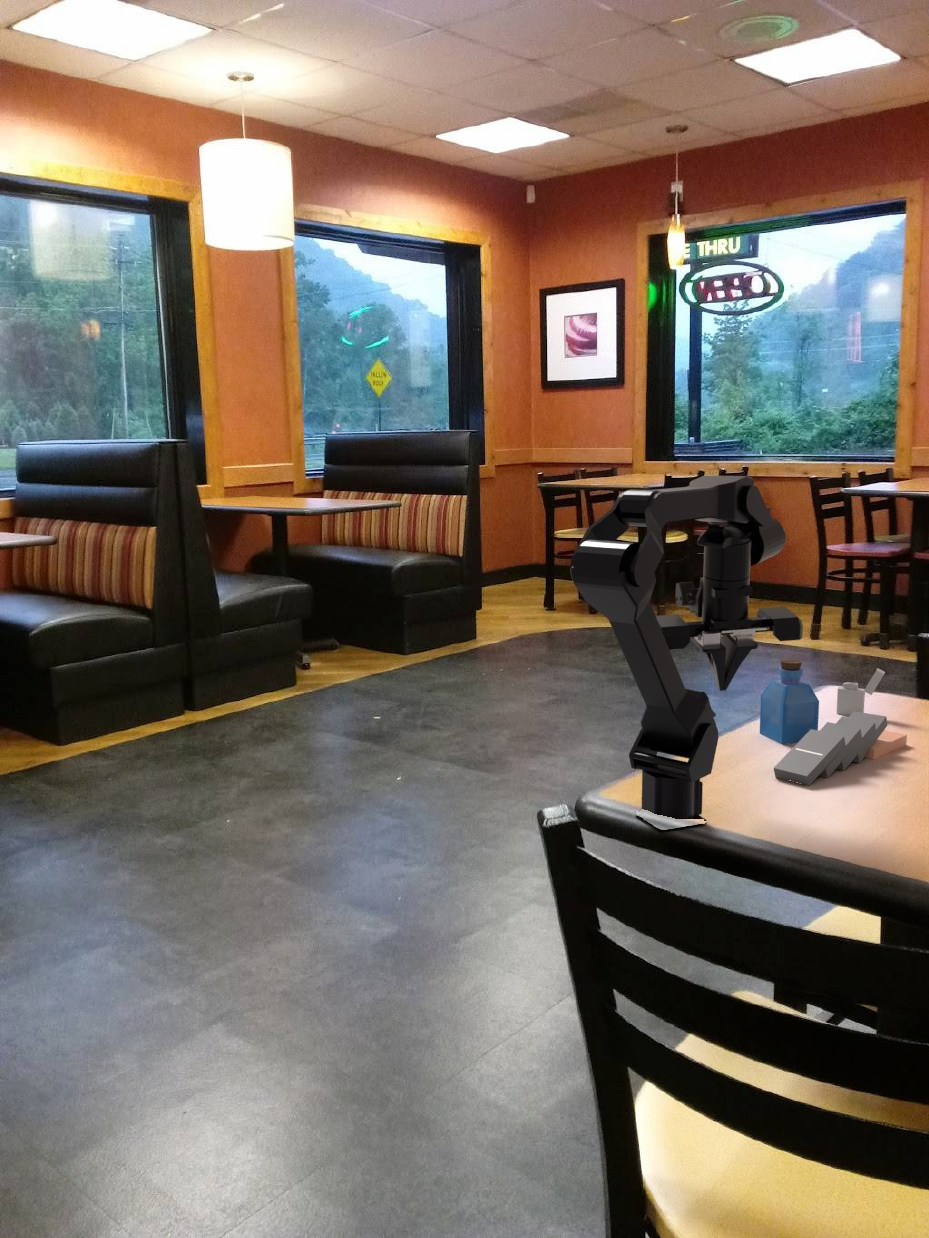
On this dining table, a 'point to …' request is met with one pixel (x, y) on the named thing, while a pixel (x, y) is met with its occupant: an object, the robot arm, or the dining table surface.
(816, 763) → the domino
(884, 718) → the domino
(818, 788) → the dining table surface
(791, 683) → the perfume bottle
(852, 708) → the lighter
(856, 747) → the domino
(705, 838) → the dining table surface
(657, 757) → the robot arm
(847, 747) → the domino
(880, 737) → the domino
